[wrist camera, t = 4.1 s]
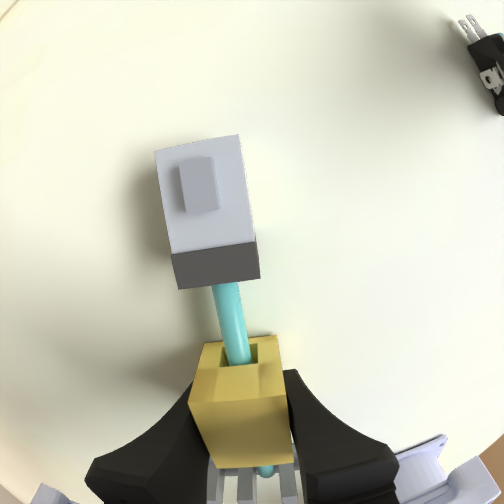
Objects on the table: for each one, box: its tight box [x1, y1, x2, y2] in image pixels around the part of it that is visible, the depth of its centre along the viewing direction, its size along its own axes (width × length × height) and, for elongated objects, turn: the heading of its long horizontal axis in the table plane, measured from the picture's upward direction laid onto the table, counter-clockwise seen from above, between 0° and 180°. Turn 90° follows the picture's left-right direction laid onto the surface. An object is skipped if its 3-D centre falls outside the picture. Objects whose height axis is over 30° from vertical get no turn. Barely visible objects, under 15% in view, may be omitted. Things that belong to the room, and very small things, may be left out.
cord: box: [211, 282, 275, 478], centre depth 12 cm, size 16×1×1 cm, turn 9°
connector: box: [155, 134, 255, 254], centre depth 10 cm, size 4×3×3 cm
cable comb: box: [207, 444, 300, 504], centre depth 13 cm, size 2×9×4 cm, turn 99°
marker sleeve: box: [188, 335, 294, 468], centre depth 11 cm, size 4×3×4 cm
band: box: [171, 230, 261, 290], centre depth 11 cm, size 1×3×3 cm, turn 99°
